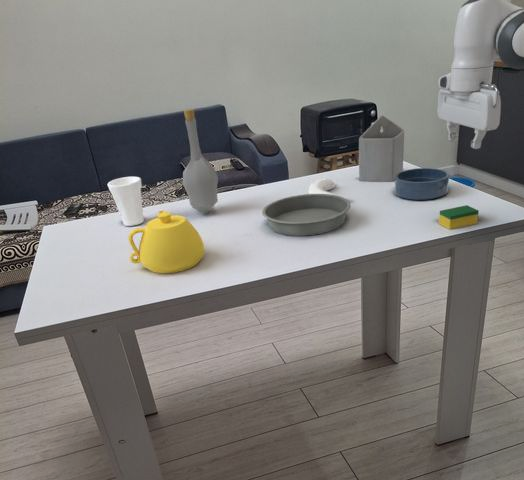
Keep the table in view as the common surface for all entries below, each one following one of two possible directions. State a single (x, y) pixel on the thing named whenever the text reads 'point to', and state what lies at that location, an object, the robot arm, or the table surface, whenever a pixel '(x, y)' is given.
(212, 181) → the bottle
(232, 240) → the table surface
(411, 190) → the bowl
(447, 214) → the sponge
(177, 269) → the teapot
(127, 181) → the cup
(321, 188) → the white rounded piece
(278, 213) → the cake pan
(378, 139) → the planter
